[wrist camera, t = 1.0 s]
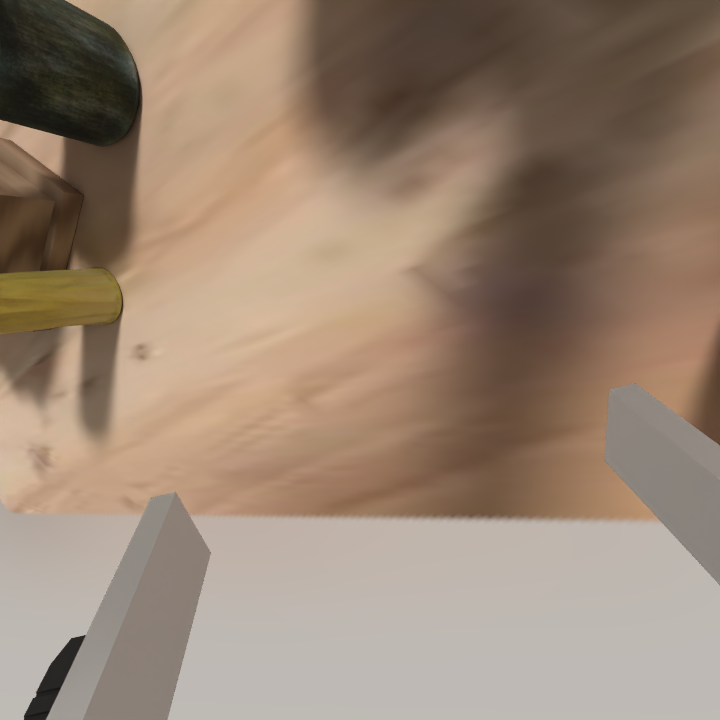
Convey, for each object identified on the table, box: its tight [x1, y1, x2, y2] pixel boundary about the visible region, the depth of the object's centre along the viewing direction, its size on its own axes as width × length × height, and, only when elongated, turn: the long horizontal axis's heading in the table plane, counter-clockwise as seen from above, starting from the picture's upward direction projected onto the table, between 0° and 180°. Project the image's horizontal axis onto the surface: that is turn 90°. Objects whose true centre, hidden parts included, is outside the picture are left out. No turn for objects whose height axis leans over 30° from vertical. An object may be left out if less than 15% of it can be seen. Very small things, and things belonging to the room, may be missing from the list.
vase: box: [0, 267, 122, 335], centre depth 39 cm, size 6×6×14 cm
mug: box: [0, 0, 139, 146], centre depth 34 cm, size 11×15×12 cm
